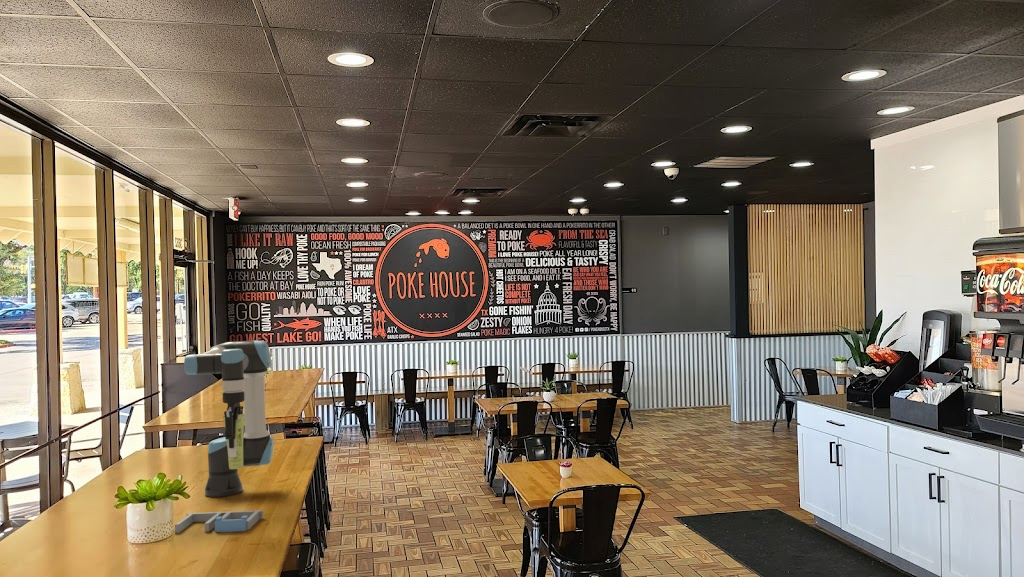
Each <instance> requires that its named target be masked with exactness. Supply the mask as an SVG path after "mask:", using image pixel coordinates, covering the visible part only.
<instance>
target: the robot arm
mask: <svg viewBox="0 0 1024 577" xmlns="http://www.w3.org/2000/svg"><path fill="white" fill-rule="evenodd" d="M271 359H272V358H271V353H270V347H269V344H268V343H267V341H264V340H245V341H244V340H241V341H227V342H224V343H220V344H217V345H214V346H212V347H210V348H208V349H207V350H206V352H205V351H204V352H203V353H200V354H195V353H193V354H188V355H186V356H185V358H184V362H183V369H184V373H185V374H186V375H188V376H191V375H193V376H198V375H211V374H217V375H218V374H221V380H222V381H221V383H220V385H221V386H222V391H223V393H222V403H223V404H227V408H226V411H224V415H223V416H225V424H224V431H225V432H224V434H225V436H223V437H219V438H217V439H213V440H211V441H210V442H209V443H208V445H207V460H208V466H207V467H208V478H207V481H206V484H205V487H204V496H206V497H210V498H211V497H212V498H218V497H220V498H221V497H228V496H229V497H230V496H233V495H237V494H240V493H241V492H243V483H242V480H241V478H240V475H239V472H238V471H239V469H229V460H228V453H229V457H237V444H236V439H235V432H236V420H237V419H238V415H239V414H245V419H244V434H243V467H242V468H245V467H256V466H258V467H260V466H266V465H269V464H270V463H271V461H272V459H273V458H272V457H273V453H274V443H275V441H274V440H275V438H274V437H273V436H271V435H270V434H271V433H270V431H268V430H267V423H266V422H267V420H266V398H265V397H266V396H265V375H266V373H267V372H268V369H269V368H270V367H271V366H272V363H271V361H272V360H271ZM241 403H243V405H241ZM233 417H235V418H233ZM227 439H228V448H227Z"/></svg>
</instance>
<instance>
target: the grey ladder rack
mask: <svg viewBox="0 0 1024 577" xmlns="http://www.w3.org/2000/svg"><path fill="white" fill-rule="evenodd" d="M263 519H264V509H257V510H235V511H234V510H233V511H231V510H229V511H207V512H188V513H186V514H185V517H183V518H182V519H181V520H179V521H178V522H176V523H175V524H174V533H175V534H179V533H181V532H183V531H184V530H185V529H186V528H187V527H189V526H190V525H191V524H193V523H200V522H201V523H203V522H204V532H206V533H207V532H208V533H209V532H210V531H211V530H213V529H214V532H215V533H229V532H246V531H249V530H250V529H251V528H252V527H253V526H254V525H255V524H257V522H258V521H260V520H263Z"/></svg>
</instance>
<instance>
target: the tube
mask: <svg viewBox="0 0 1024 577" xmlns="http://www.w3.org/2000/svg"><path fill="white" fill-rule="evenodd" d="M233 418H235V417H233ZM222 419H223V422H224V425H225V415H222ZM244 432H245V414H244V413H243V414H239V415H238V419H237V420H236V432H235V439H236V444H237V457H229V453H228V460H229V469H238V470H240V469H243V468H244V467H243V434H244ZM227 448H228V439H227Z"/></svg>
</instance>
